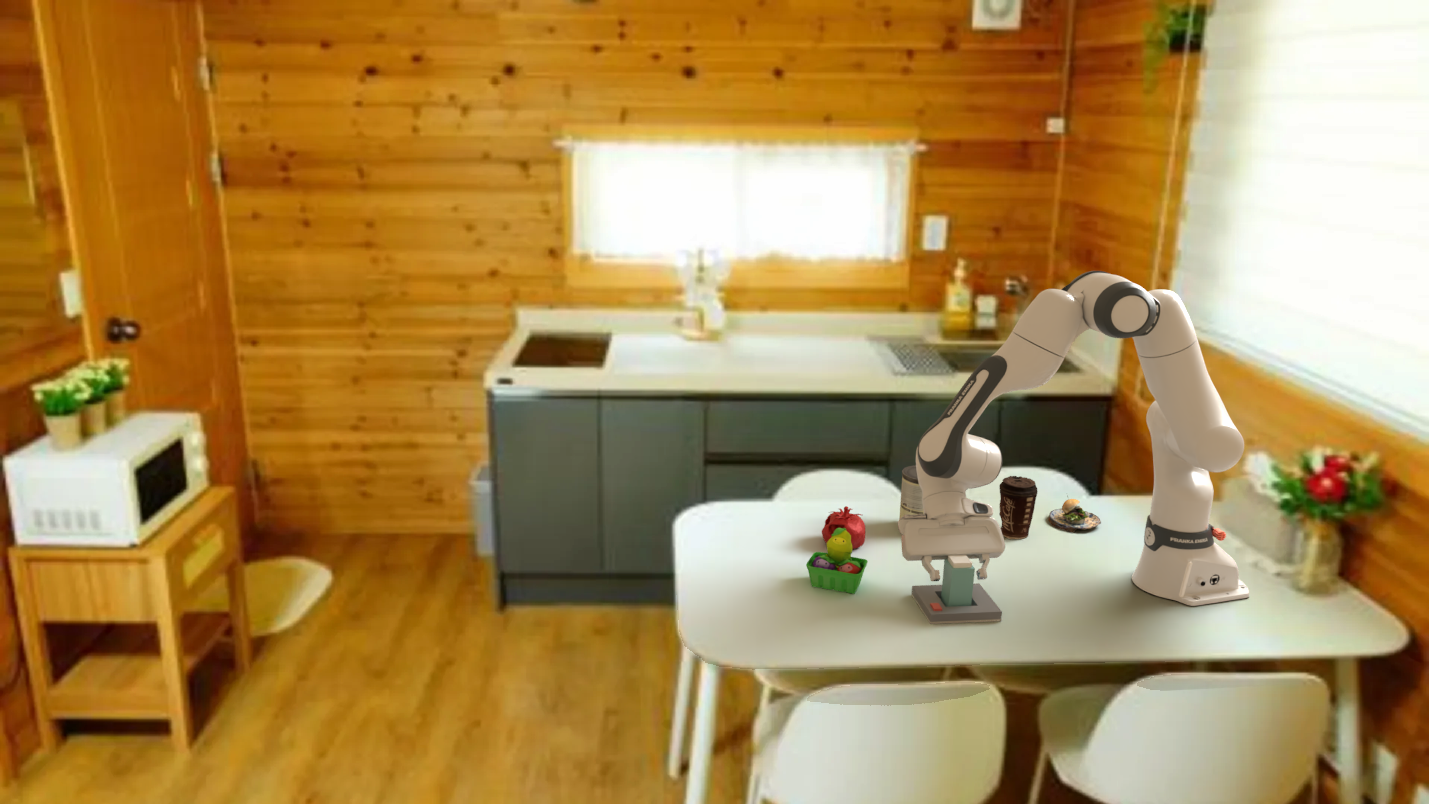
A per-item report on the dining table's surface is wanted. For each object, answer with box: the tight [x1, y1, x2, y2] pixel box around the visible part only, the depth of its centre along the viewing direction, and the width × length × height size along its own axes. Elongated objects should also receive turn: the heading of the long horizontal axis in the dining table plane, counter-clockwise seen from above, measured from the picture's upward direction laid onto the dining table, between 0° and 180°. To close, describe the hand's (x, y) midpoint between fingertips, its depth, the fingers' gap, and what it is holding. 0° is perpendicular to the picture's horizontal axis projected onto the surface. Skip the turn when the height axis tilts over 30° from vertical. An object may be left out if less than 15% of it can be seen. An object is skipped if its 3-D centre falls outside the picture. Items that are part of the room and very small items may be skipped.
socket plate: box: [911, 582, 1003, 625], centre depth 205 cm, size 14×12×2 cm
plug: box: [941, 555, 976, 607], centre depth 203 cm, size 4×4×10 cm
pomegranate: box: [821, 506, 866, 550], centre depth 231 cm, size 10×10×9 cm
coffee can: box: [898, 464, 924, 520], centre depth 240 cm, size 10×10×14 cm
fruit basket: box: [805, 528, 868, 595], centre depth 212 cm, size 11×9×11 cm
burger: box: [1048, 494, 1102, 534], centre depth 246 cm, size 12×12×8 cm
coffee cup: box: [998, 475, 1038, 540], centre depth 239 cm, size 9×8×13 cm
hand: (959, 579), depth 203 cm, fingers open, 8 cm apart
